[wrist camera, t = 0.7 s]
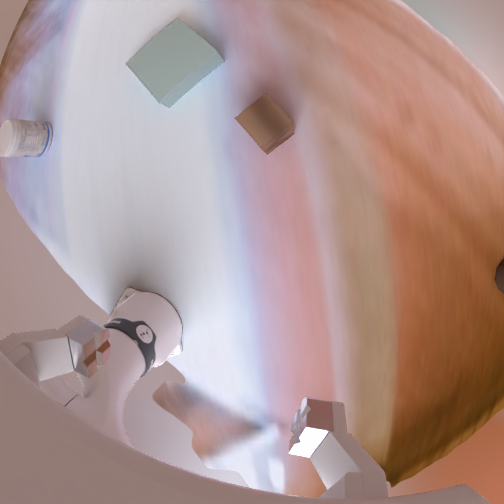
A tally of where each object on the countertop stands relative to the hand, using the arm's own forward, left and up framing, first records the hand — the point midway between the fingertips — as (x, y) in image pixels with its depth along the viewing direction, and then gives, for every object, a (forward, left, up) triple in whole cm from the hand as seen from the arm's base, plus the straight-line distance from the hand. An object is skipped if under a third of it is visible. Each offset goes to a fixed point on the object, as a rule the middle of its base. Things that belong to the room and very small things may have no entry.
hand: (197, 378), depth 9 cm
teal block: (+5, +38, -41) cm, 56 cm away
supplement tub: (-33, +57, -41) cm, 77 cm away
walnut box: (+9, +14, -40) cm, 44 cm away
